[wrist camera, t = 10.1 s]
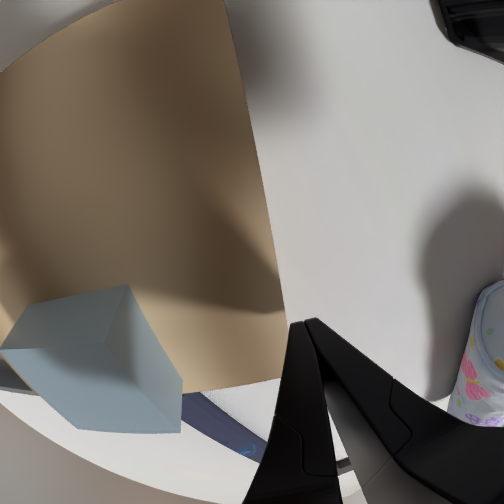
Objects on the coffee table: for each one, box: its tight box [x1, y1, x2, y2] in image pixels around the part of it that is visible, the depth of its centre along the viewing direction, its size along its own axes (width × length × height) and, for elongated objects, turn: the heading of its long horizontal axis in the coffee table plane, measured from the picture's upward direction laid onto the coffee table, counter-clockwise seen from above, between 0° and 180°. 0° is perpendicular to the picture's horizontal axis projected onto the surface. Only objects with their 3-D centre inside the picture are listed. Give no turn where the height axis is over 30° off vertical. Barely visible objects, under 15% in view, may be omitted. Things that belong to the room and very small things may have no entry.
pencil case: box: [447, 279, 504, 427], centre depth 14 cm, size 21×9×10 cm, turn 29°
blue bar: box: [181, 392, 354, 476], centre depth 21 cm, size 34×2×12 cm
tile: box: [0, 284, 183, 434], centre depth 8 cm, size 5×5×2 cm
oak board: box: [0, 0, 288, 394], centre depth 8 cm, size 15×14×2 cm
